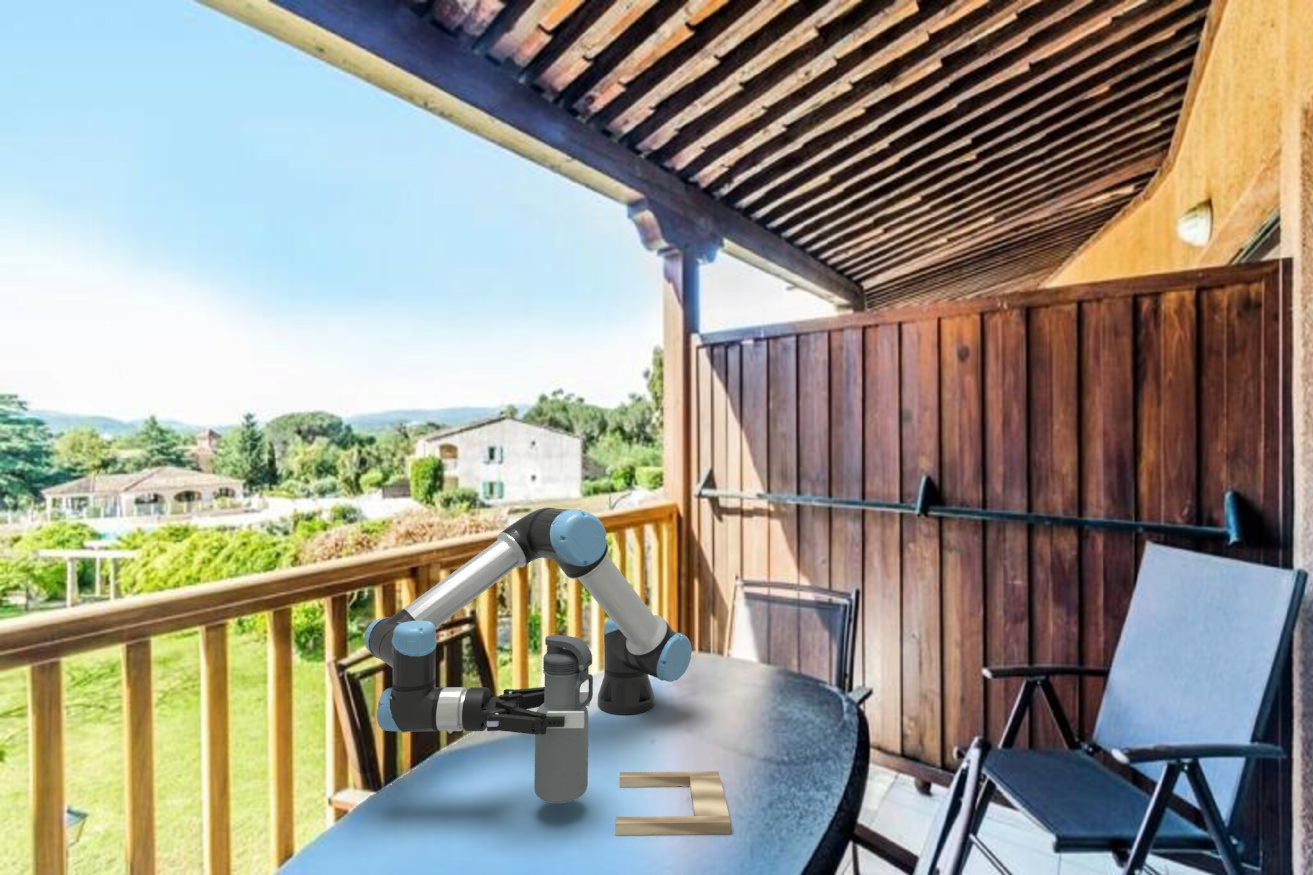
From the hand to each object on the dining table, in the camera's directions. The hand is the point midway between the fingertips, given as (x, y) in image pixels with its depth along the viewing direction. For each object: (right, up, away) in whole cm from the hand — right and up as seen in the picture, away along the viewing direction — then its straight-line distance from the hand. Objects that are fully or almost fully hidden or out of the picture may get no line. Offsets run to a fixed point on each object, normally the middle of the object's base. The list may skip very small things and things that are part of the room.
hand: (586, 708), depth 117 cm
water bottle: (-4, -15, -1) cm, 16 cm away
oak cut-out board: (+16, -19, +1) cm, 25 cm away
